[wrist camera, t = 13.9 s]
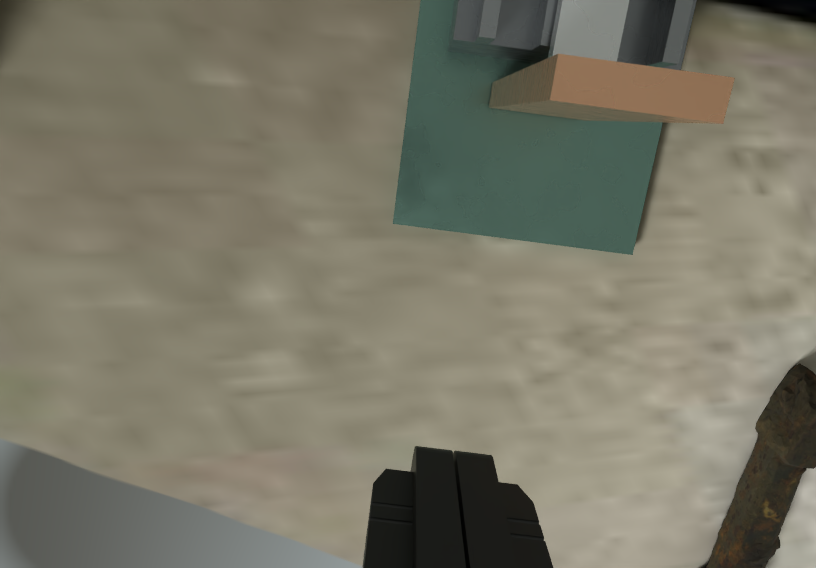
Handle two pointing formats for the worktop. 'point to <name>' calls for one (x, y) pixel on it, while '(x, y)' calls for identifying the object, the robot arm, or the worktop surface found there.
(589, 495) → the worktop surface
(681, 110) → the upright wooden plank
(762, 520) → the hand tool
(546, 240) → the base
